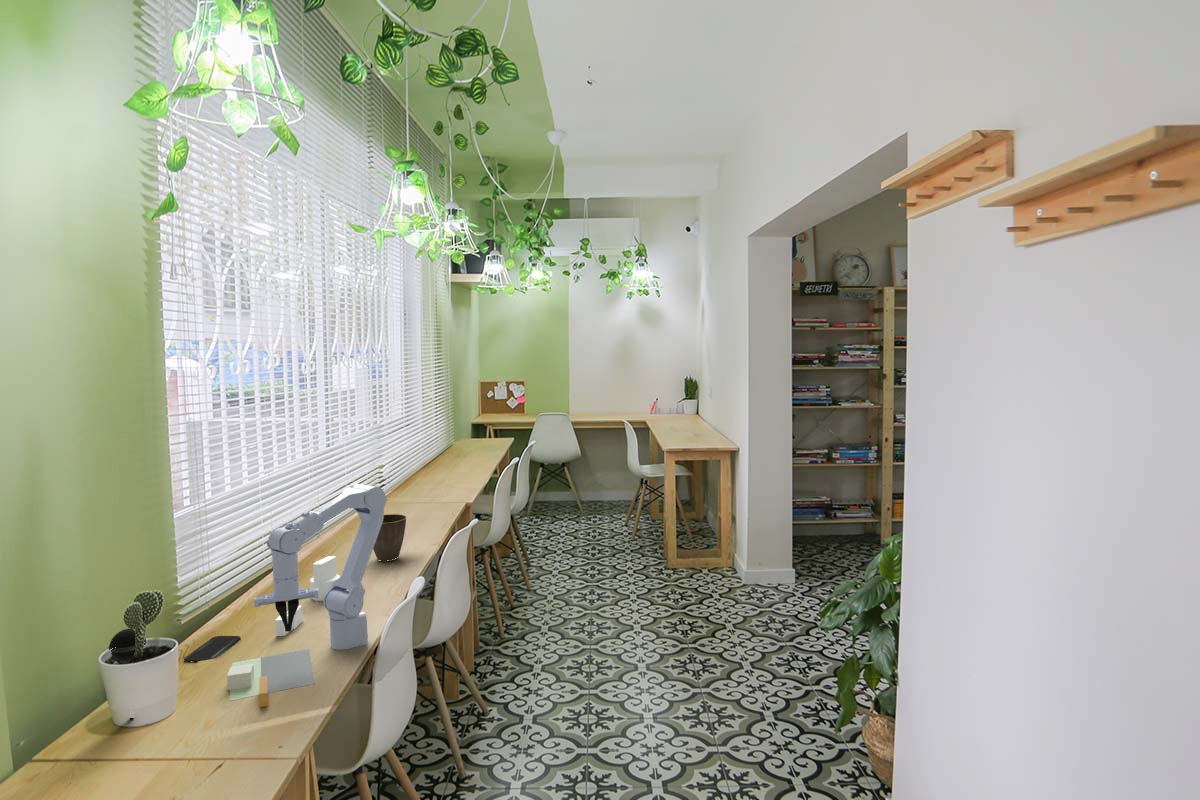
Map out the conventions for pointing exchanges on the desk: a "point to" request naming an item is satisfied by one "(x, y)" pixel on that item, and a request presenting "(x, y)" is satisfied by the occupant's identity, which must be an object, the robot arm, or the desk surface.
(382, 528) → the plant pot
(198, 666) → the desk surface
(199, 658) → the phone
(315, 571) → the cylinder with rectangular tab
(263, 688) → the bar
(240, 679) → the plug block
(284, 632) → the napkin holder
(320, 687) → the desk surface
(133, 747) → the desk surface
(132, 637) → the black bowler hat
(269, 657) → the green and grey board
